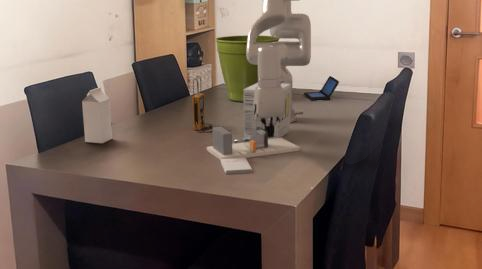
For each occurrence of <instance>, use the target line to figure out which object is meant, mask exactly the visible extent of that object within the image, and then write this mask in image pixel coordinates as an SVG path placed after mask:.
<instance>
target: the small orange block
mask: <svg viewBox="0 0 482 269" xmlns="http://www.w3.org/2000/svg"><path fill="white" fill-rule="evenodd" d="M250 150H252V151H256V142H255V141H253V140H250Z"/></svg>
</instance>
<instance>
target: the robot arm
mask: <svg viewBox="0 0 482 269" xmlns="http://www.w3.org/2000/svg"><path fill="white" fill-rule="evenodd" d="M292 1H293V2H294V1H298V2H299V0H262V10H261V16H260V17H259V18H257V20H255V22H254V23H253V24H252V25H251V27H250V29H249V31H248V35H247V36H248V37H247V49H246V57H247V60H248V62H249V63H251V64H255V65H258V87H256V88H255V93H254V101H253V114H254V115H255V117H254V120H255V121H259V122H262V123H263V124H264V130H266V131H268V137H269V138H271V137H274V126H275V125H276V123H277V121H278V120H279V119H282V118H284V112H285V102H284V93H283V88H282V86H281V83H285V84H291V107H290V123H294V122H296V121H297V117H296V116H297V115H303V114H304V109H297V108H296V109H295V108H294V107H293V75H292V73H291V72H290V71H289V69H288V68H287V67H305V66H308V65H309V64H310V63H311V59H312V58H311V57H312V26H311V25H312V24H311V20H310V17H309V15H307V14H306V13H292ZM266 31H269V34H270V36H272V37H274V38H280V39H285V41H280V40H278V42H272V43H270V42H256V39H257V37H258V36H261V34H262V33H264V32H266ZM286 39H289V40H290V39H295V40H298V41H288V40H287V41H286ZM269 117H270V120H269Z"/></svg>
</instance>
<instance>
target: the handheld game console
mask: <svg viewBox="0 0 482 269" xmlns="http://www.w3.org/2000/svg"><path fill="white" fill-rule="evenodd" d="M339 84H340V81H339V80H338V79H336V78H334V77H333V76H332V75H331V76H330V75H329V76H328V77H327V80H326V81H325V83H324V84H323V86H322V87H321V89H320V90H319V91H306V92H304V93H303V95H304V96H305V98H307V99H308V100H310V101H311V102H317V100H323V101H331V97H332V95H333V93H334V92H335V90H336V89H337V87H338V85H339Z"/></svg>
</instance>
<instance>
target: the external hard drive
mask: <svg viewBox="0 0 482 269" xmlns="http://www.w3.org/2000/svg"><path fill="white" fill-rule="evenodd" d="M220 164H221V166H222V169H223V171H224V173H225V174H226V175H229V174H230V175H231V174H246V173H253V172H254V171H253V168H252V167H251V164H250V163H249V160H248V158H232V159H221V160H220Z"/></svg>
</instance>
